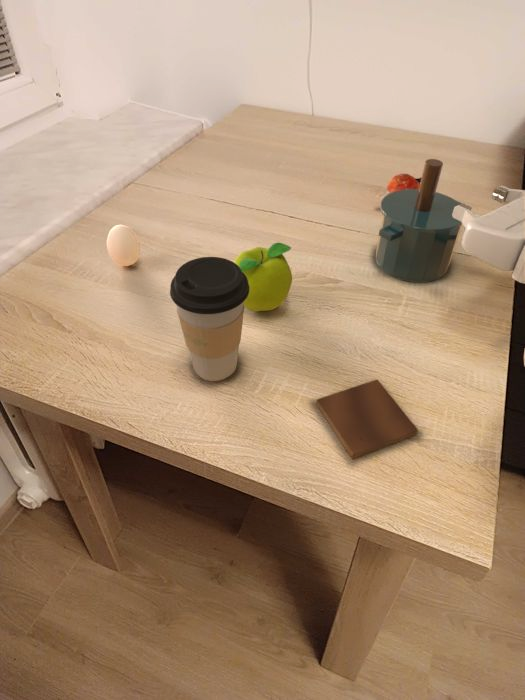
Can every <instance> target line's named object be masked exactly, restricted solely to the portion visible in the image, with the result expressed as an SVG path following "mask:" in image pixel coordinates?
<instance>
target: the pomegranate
mask: <svg viewBox="0 0 525 700" xmlns="http://www.w3.org/2000/svg"><path fill="white" fill-rule="evenodd" d="M421 178H422V176H421V177H419V178H418V177H417V178H416V177H414V176H413V175H410V174H409V173H399V174H396V175H394V176H392V177H391V180H390V181H388V184H387V187H386V188H387V191H388V192H389V194H390V193H392V192H395V191H399V190H406V189H419V186H420V182H421Z"/></svg>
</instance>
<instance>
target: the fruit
mask: <svg viewBox="0 0 525 700" xmlns="http://www.w3.org/2000/svg"><path fill="white" fill-rule="evenodd" d="M291 249H292V247H291V246H290V245H288V244H285V243H282V242H275V243H273V244H272V245H270V246H269V248H268V247H267V248H266V247H262V246H256V247H253V248H251V249H247V250H244V251H242V252H240V253H239V254H238V255H237V256H236V258H235V259H234V261H233V262H234V263H235V264H237V265H238V266H239V267H240V269H241V271H242V272H243V273H244V274H245V276H246V277H247V280H248V284H249V294H248V296H247V298H246V299H245V301H244V302H243V304H244V308H246V309H247V310H249V311H252V312H263V311H264V312H266V311H272V310H275V309H276V308H279V306H281V305H282V304H283V303H284V301H285V300H286V298H287V297H288V295H289V292H290V290H291V286H292V283H293V274H292V271H291V267H290V265H289V263H288V261H287V259H286V257H285V256H284V255H283V254H285V253H287V252H289V251H291Z"/></svg>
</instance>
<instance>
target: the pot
mask: <svg viewBox="0 0 525 700" xmlns="http://www.w3.org/2000/svg"><path fill="white" fill-rule="evenodd" d="M456 201H457V202H459V203H460V204H463V203H462V202H461V201H458V200H456ZM462 227H463V224H461V225H460V226H459V227H457V228H455V229H453V230H450V231H446V232H437V233H428V232H419V231H414V230H409V229H406V228H403V227H400V226H398V225H396V224H394V223H392V222H391V221H389V220H388V219H387V218H386V217H385V216H384V215H383V214H382V218H381V223H380V229H379V231H378V239H377V243H376V248H375V262H376V265H377V266H378V268H380V270H382V272H383V273H385V274H387V275H388V276H390V277H393V278H395V279H398V280H401V281H405V282H410V283H428V282H429V283H430V282H433V281H437V280H439V279H441V278H442V277H444V276H445V274H446V273H447V272H448V269H449V267H450V265H451V261H452V259H453V255H454V252H455V250H456V246H457V242H458V240H459V236H460V233H461V231H462Z"/></svg>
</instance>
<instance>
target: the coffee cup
mask: <svg viewBox="0 0 525 700" xmlns="http://www.w3.org/2000/svg"><path fill="white" fill-rule="evenodd" d="M248 294H249V284H248V280H247V277H246V276H245V274H244V273H243V272H242V271H241V269H240V267H239V266H238V265H237V264H235V263H234V261H232V260H230V259H228V258H224V257H220V256H219V257H218V256H202V257H197V258H194V259H191V260H189V261H187V262H185V263H183V264H182V265H181V266H179V268H178V269H177V270H176V272H175V275H174V276H173V278H172V279H171V282H170V288H169V296H170V298H171V300H172V301H173V303H174V304H175V305H176V313H177V316H178V321H179V324H180V328H181V331H182V335H183V339H184V342H185V345H186V347H187V349H188V353H189V357H190V360H191V364H192V367H193V370H194V372H195V373H196V374H197V376H198V377H200V378H201V379H204V380H206V381H210V382H220V381H223V380H225V379H227V378H229V377H230V376H231V375H233V374H234V372H235V371H236V369H237V365H238V358H239V350H240V344H241V341H242V331H243V323H244V314H245V313H244V312H245V306H244V304H243V302H244V301H245V299H246V298H247V296H248Z"/></svg>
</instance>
